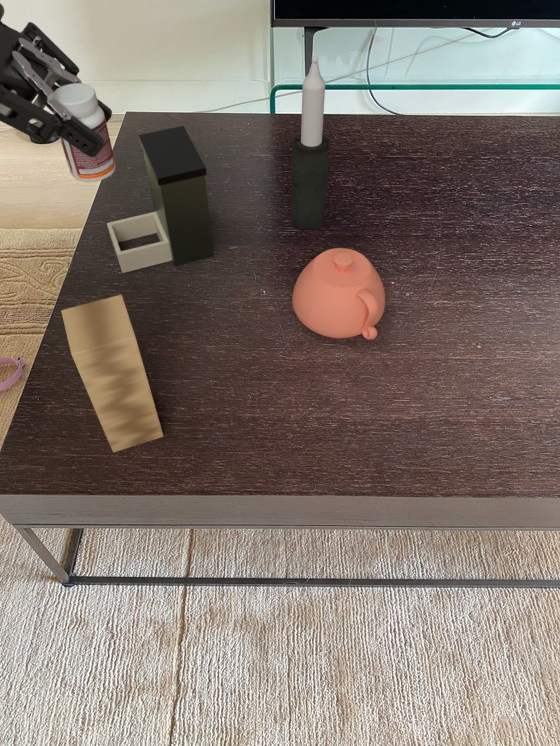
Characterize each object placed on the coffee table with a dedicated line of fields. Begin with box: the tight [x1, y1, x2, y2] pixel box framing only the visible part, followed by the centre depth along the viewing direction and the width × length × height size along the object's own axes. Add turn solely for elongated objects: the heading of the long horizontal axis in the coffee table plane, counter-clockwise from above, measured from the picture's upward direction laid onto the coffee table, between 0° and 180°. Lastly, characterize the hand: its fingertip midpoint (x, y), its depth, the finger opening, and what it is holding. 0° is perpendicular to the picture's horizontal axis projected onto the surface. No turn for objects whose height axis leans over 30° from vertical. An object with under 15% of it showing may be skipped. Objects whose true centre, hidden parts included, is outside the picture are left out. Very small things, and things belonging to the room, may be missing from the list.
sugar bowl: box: [291, 247, 386, 340], centre depth 80 cm, size 12×14×10 cm
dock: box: [106, 211, 173, 274], centre depth 91 cm, size 7×7×4 cm
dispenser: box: [138, 125, 215, 267], centre depth 88 cm, size 6×10×15 cm, turn 21°
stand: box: [60, 294, 164, 453], centre depth 67 cm, size 6×6×18 cm
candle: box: [290, 55, 331, 230], centre depth 87 cm, size 5×5×25 cm
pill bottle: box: [54, 83, 117, 183], centre depth 62 cm, size 5×5×8 cm
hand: (102, 134), depth 62 cm, fingers closed on pill bottle, 4 cm apart
